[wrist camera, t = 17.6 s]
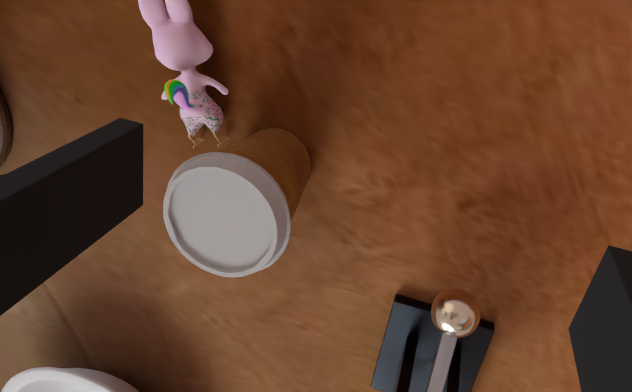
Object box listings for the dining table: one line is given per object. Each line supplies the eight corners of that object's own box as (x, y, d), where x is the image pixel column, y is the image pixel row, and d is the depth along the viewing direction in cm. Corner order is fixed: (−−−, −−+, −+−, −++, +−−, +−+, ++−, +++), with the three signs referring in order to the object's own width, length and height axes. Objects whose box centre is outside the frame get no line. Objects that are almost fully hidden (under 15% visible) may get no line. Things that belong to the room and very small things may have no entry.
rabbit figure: (251, 129, 49) (202, -49, 41) (226, 163, 44) (165, -32, 36) (190, 133, 51) (131, -37, 43) (159, 166, 46) (87, -19, 38)
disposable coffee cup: (238, 93, 46) (166, 138, 36) (343, 133, 45) (300, 191, 35) (218, 187, 51) (148, 252, 40) (312, 225, 50) (266, 302, 39)
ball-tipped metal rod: (436, 280, 43) (439, 285, 39) (482, 293, 42) (489, 300, 38) (386, 467, 43) (383, 489, 39) (431, 483, 42) (433, 507, 39)
